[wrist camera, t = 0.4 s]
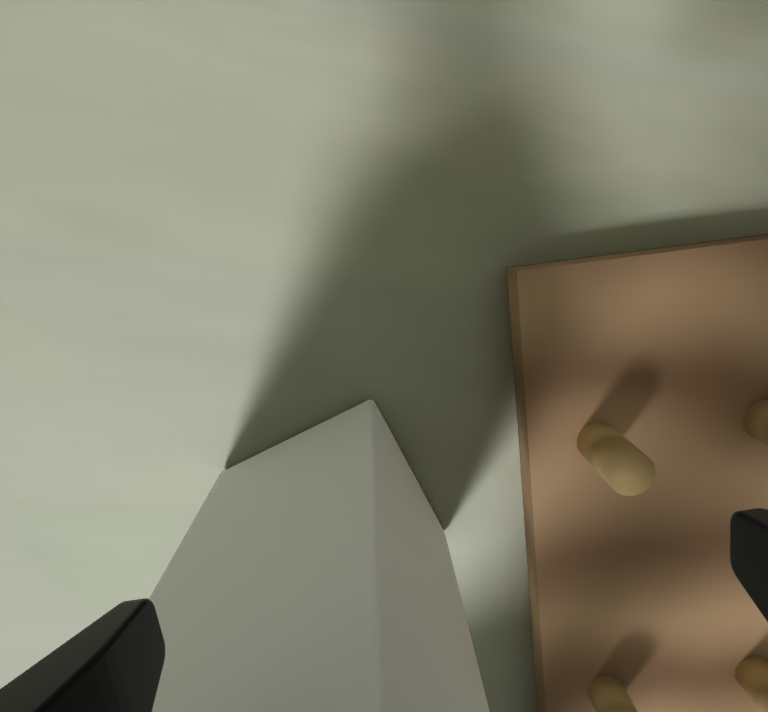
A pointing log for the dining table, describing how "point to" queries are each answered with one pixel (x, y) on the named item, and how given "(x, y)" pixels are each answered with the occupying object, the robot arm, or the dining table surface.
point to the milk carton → (317, 586)
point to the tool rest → (643, 474)
